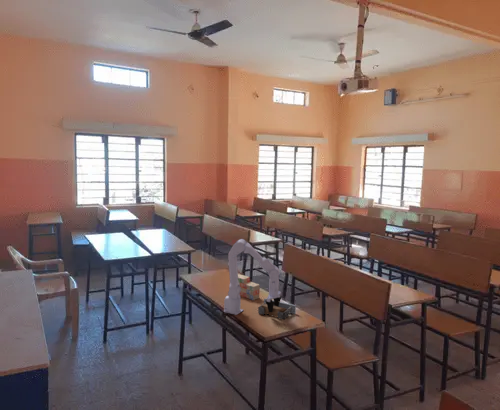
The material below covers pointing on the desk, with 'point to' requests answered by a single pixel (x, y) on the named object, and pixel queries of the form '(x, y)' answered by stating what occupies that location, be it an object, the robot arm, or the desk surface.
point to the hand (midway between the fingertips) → (273, 309)
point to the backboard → (286, 306)
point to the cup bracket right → (283, 314)
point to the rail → (275, 310)
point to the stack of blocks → (248, 287)
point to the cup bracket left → (261, 310)
